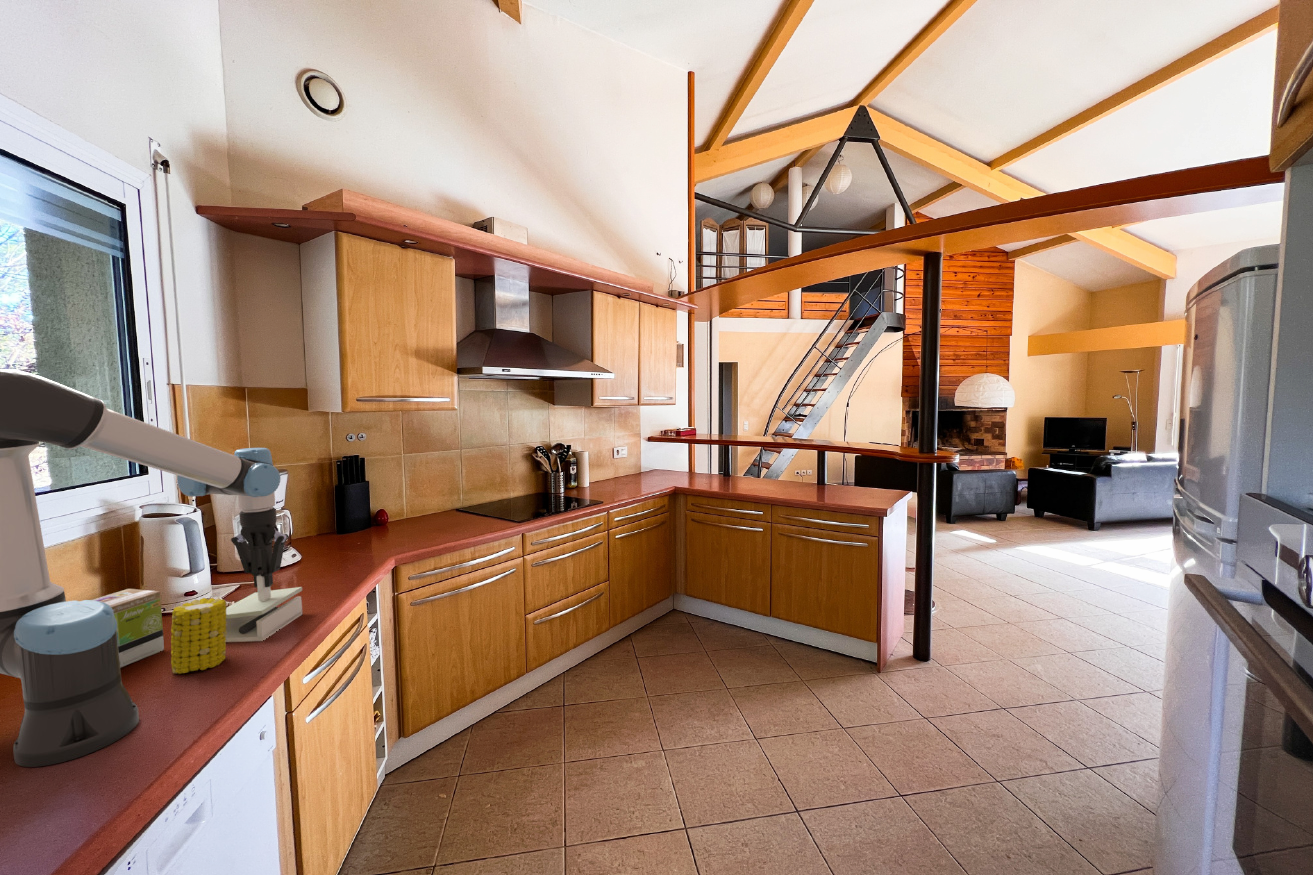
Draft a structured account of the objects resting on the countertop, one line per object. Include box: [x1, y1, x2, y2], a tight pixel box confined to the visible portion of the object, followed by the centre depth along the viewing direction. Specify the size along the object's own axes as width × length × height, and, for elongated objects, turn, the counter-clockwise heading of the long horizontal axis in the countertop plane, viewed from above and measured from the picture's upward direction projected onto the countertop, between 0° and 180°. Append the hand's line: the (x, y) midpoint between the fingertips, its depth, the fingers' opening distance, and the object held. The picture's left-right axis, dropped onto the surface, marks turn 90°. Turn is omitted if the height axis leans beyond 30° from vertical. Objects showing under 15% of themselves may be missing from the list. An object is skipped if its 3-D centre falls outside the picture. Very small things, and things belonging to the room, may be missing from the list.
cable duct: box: [225, 596, 303, 643], centre depth 141 cm, size 16×12×5 cm
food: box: [170, 597, 227, 675], centre depth 122 cm, size 15×12×10 cm
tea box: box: [92, 588, 165, 669], centre depth 123 cm, size 15×10×15 cm
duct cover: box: [226, 586, 303, 619], centre depth 141 cm, size 16×12×1 cm
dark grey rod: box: [239, 606, 279, 634], centre depth 142 cm, size 13×2×2 cm, turn 2°
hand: (264, 598), depth 141 cm, fingers closed
